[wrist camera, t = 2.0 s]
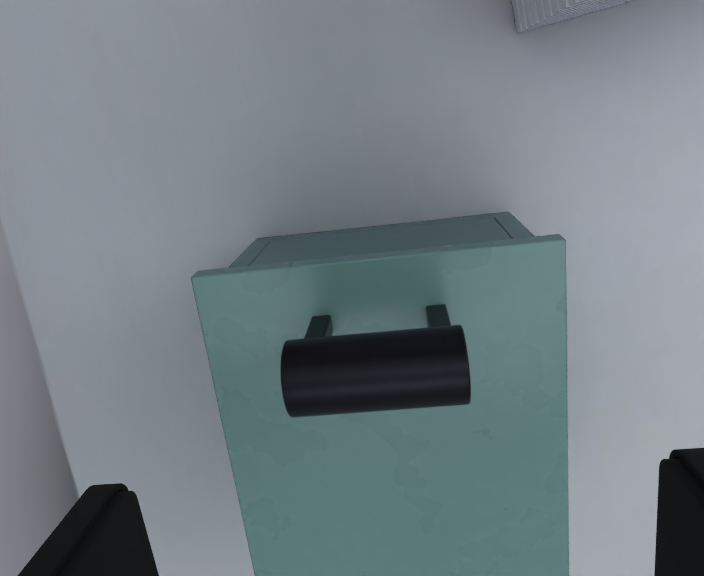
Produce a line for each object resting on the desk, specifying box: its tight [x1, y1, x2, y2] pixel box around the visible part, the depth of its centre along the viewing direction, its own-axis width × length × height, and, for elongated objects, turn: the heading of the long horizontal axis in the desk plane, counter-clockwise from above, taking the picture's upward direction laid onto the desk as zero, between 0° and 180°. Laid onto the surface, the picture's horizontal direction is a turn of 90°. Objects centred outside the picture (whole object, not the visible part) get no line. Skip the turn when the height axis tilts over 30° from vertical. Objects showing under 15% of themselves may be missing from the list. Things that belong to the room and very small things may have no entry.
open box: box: [229, 212, 535, 268], centre depth 27 cm, size 15×13×9 cm
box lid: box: [191, 234, 569, 576], centre depth 20 cm, size 16×13×6 cm
